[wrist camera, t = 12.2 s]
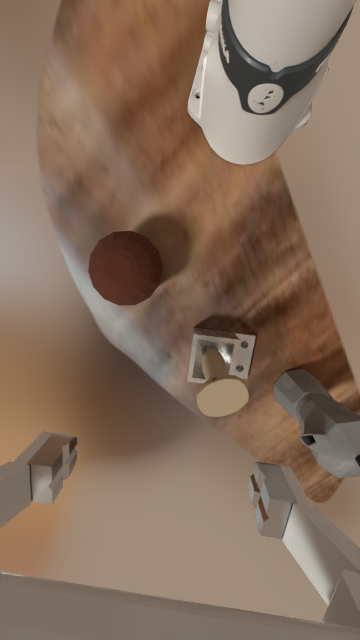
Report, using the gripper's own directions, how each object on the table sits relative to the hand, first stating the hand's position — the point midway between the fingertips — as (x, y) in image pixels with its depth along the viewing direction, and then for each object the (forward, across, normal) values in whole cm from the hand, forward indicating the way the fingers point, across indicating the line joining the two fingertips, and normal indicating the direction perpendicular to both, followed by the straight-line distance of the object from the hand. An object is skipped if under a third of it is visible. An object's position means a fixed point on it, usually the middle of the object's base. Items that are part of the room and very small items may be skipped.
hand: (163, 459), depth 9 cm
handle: (+30, -6, +6) cm, 32 cm away
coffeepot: (+31, -25, +12) cm, 42 cm away
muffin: (+31, +10, -8) cm, 34 cm away
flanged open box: (+31, -8, +6) cm, 33 cm away
